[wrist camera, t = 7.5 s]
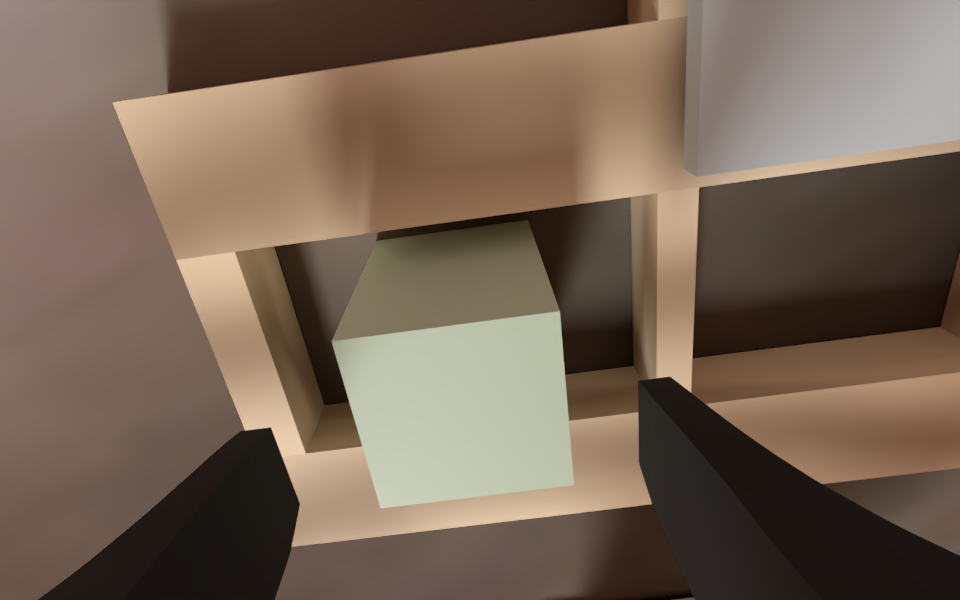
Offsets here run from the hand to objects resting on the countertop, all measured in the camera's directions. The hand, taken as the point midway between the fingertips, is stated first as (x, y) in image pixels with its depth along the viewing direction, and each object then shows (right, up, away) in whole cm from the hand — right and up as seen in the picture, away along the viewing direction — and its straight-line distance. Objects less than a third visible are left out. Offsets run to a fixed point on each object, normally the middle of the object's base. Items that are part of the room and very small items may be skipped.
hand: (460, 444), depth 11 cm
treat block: (0, +3, +6) cm, 7 cm away
